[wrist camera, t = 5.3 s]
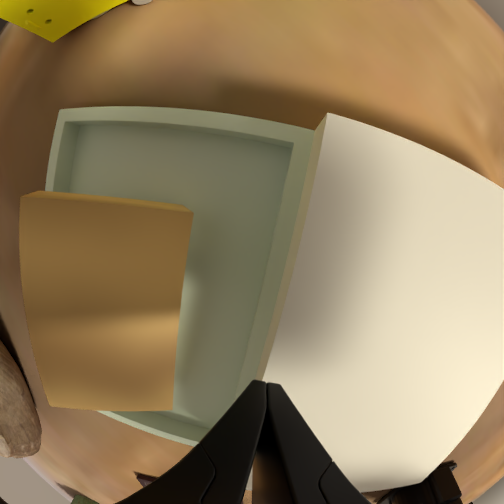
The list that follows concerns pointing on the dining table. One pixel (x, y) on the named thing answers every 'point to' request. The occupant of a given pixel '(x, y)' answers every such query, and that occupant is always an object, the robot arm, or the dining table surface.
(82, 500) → the decorative artifact
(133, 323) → the tan curved block
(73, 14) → the yellow toy chassis
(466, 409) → the block
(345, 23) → the dining table surface
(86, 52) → the dining table surface
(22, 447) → the seashell
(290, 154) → the tray
